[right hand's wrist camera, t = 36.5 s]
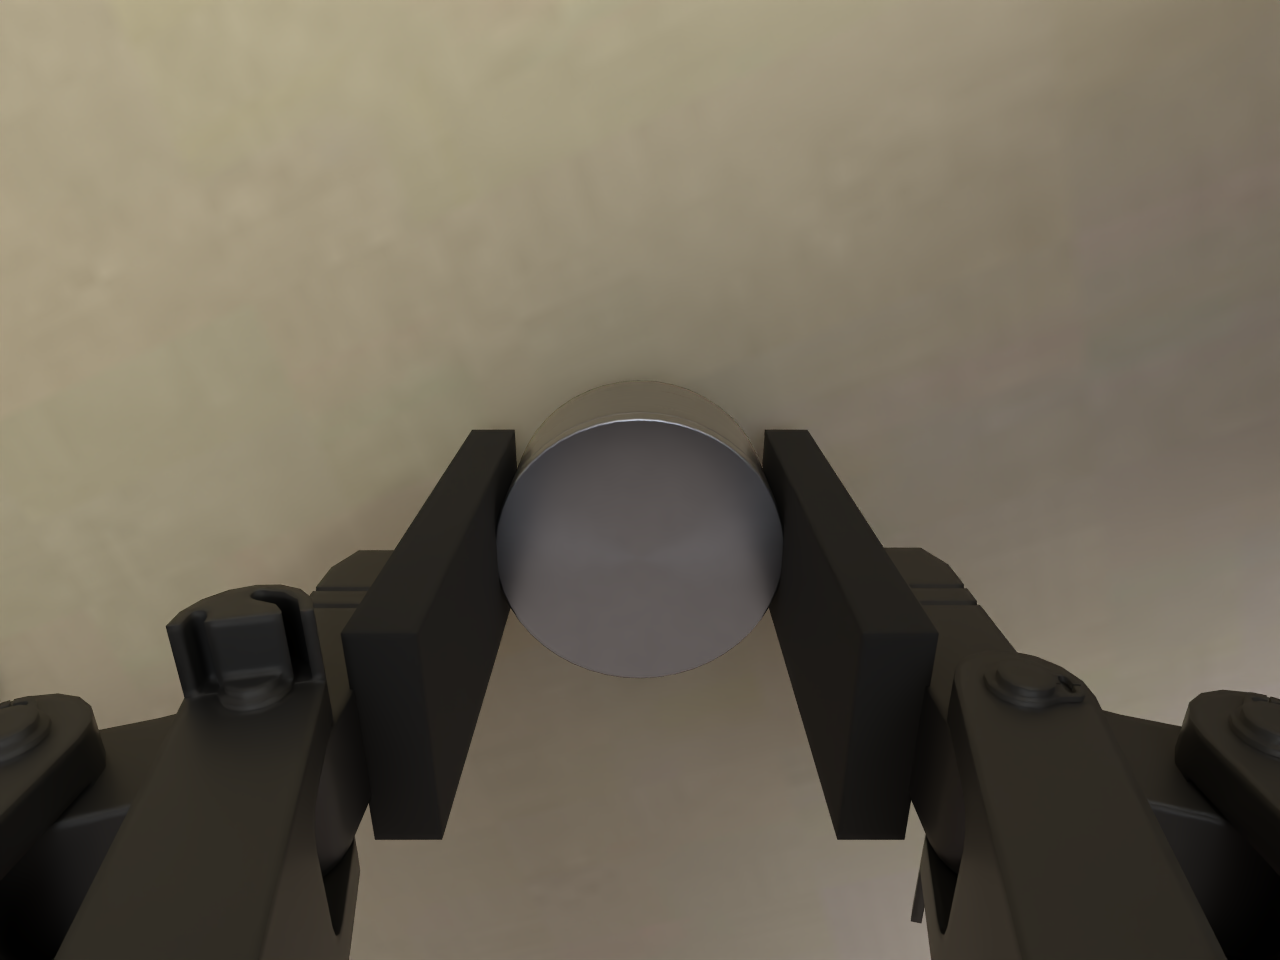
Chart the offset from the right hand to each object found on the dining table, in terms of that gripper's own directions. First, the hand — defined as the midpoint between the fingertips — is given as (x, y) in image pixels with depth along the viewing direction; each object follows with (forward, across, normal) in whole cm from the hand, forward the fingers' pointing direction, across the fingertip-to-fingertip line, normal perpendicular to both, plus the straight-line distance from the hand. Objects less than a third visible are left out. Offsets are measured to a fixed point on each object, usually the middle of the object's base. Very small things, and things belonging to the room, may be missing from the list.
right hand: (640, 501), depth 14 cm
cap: (-2, 0, 0) cm, 2 cm away
